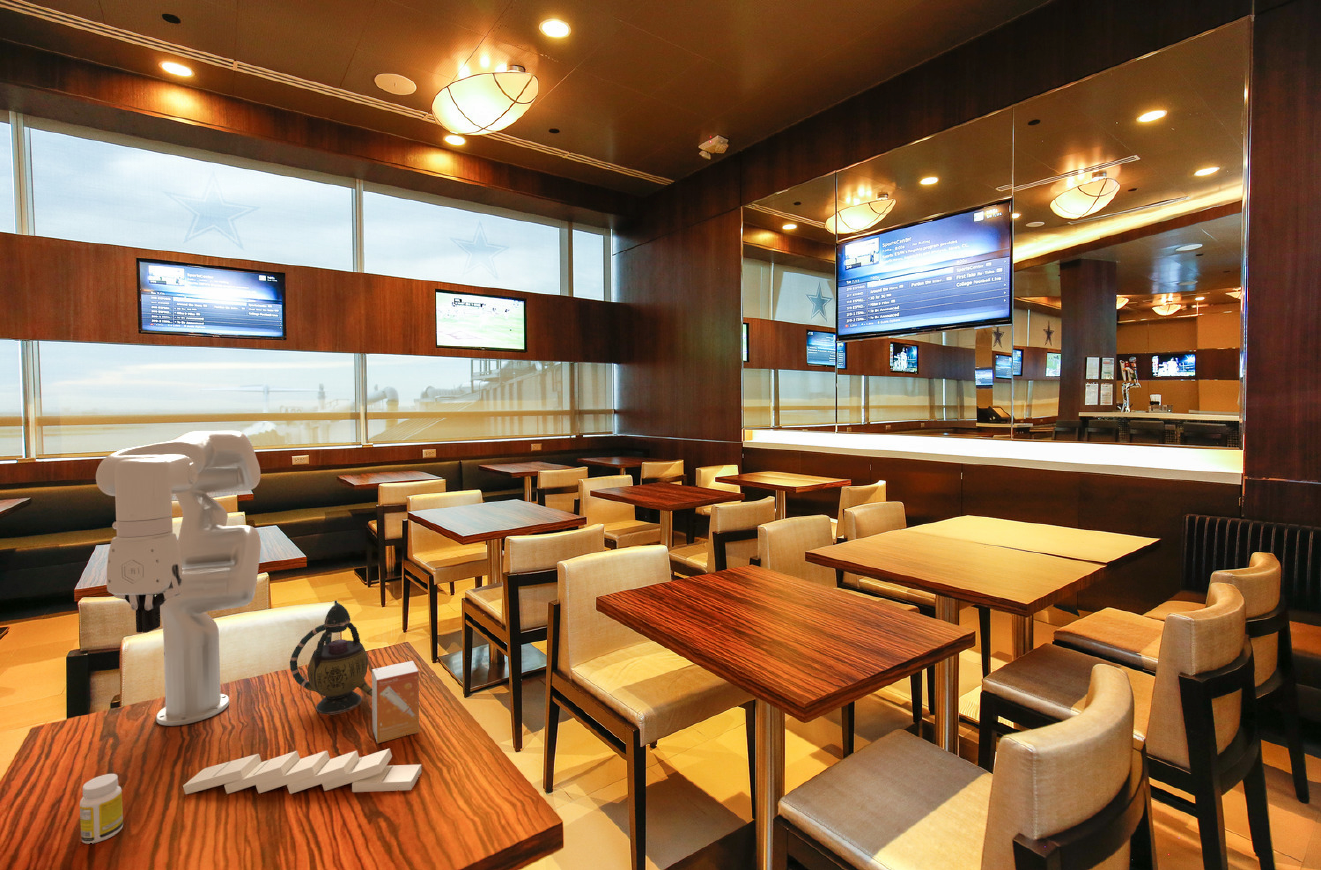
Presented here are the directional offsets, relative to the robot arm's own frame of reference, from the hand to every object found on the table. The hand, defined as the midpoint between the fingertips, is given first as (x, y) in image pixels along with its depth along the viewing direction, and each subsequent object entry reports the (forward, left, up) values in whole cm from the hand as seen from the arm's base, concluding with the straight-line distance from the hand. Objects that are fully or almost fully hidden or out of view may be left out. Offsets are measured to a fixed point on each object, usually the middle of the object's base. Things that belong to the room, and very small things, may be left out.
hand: (148, 629), depth 106 cm
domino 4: (+12, +25, -26) cm, 38 cm away
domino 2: (+8, +15, -26) cm, 31 cm away
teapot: (-16, +30, -27) cm, 43 cm away
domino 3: (+10, +20, -26) cm, 34 cm away
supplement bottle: (+15, -1, -27) cm, 31 cm away
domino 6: (+15, +35, -26) cm, 46 cm away
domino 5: (+13, +30, -26) cm, 42 cm away
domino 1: (+6, +8, -26) cm, 28 cm away
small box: (-1, +40, -27) cm, 48 cm away
